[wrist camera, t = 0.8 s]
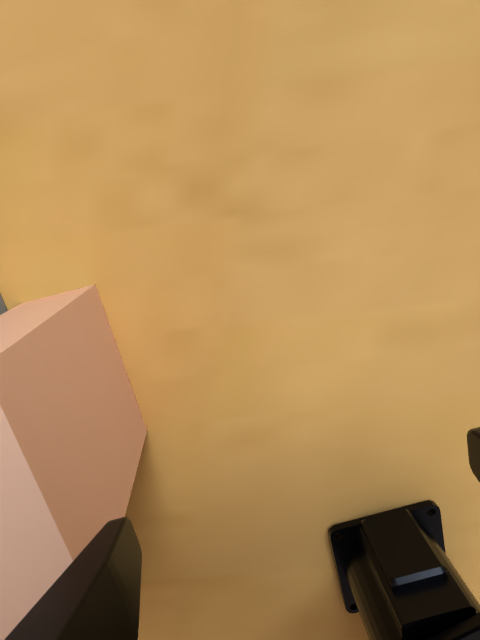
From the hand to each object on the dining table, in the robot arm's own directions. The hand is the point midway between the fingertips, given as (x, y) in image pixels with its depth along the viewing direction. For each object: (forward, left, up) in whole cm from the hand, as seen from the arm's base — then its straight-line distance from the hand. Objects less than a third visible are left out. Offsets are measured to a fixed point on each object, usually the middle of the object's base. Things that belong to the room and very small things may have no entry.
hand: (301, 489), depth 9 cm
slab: (0, +8, -12) cm, 14 cm away
